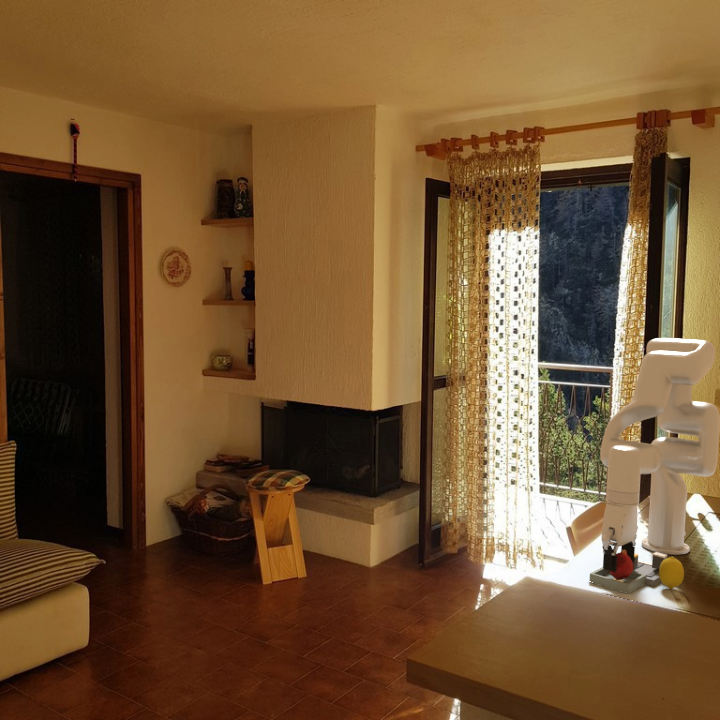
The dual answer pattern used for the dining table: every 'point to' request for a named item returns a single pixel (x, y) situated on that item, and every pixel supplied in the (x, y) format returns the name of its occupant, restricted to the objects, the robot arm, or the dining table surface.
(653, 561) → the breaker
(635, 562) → the block
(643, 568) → the breaker panel
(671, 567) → the lemon
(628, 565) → the onion
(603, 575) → the tray
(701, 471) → the robot arm
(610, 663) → the dining table surface
